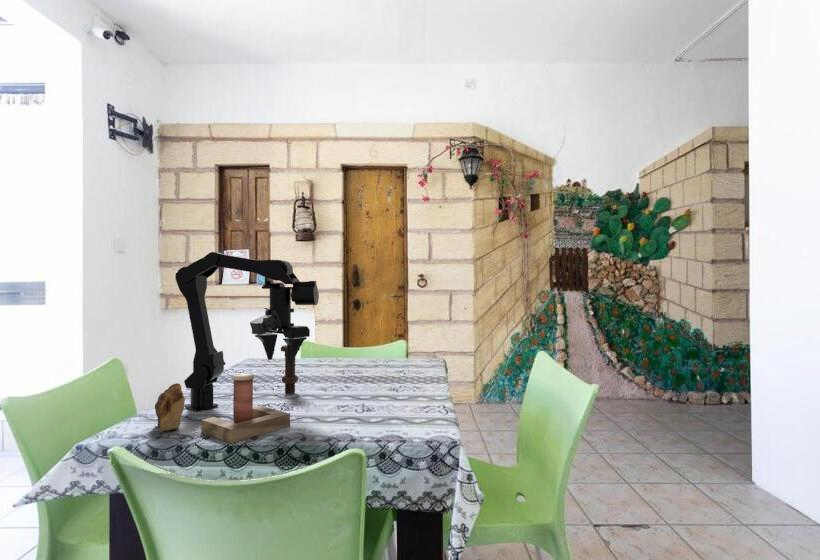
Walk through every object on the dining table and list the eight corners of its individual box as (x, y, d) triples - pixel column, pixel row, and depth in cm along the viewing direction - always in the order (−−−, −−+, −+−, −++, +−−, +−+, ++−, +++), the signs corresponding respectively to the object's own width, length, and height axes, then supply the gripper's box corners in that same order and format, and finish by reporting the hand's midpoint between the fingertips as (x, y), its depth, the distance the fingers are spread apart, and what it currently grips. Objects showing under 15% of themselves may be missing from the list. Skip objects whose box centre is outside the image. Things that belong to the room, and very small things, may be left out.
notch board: (201, 432, 111) (201, 419, 111) (259, 417, 124) (260, 405, 124) (231, 443, 104) (231, 429, 104) (289, 425, 116) (290, 413, 116)
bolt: (293, 395, 147) (293, 347, 147) (278, 395, 148) (278, 346, 148) (301, 391, 153) (301, 344, 153) (286, 390, 154) (287, 344, 154)
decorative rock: (186, 433, 111) (186, 386, 111) (157, 437, 107) (157, 389, 107) (180, 420, 121) (181, 377, 121) (153, 423, 118) (154, 380, 118)
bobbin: (227, 426, 116) (227, 374, 116) (254, 422, 119) (254, 372, 119) (230, 433, 110) (230, 379, 110) (259, 429, 113) (259, 377, 113)
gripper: (235, 305, 132) (234, 361, 131) (276, 307, 120) (276, 369, 120) (269, 303, 140) (269, 356, 140) (311, 305, 129) (311, 363, 129)
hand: (280, 361), depth 132 cm, fingers open, 9 cm apart
